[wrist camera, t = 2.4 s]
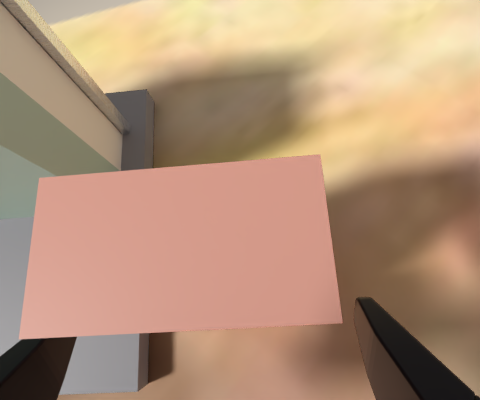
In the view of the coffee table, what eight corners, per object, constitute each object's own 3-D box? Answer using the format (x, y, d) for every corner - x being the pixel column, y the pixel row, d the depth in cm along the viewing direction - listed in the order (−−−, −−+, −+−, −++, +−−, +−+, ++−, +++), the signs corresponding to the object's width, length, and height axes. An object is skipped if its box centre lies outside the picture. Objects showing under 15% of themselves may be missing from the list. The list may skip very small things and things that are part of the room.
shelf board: (148, 383, 18) (137, 391, 17) (-54, 391, 19) (-80, 399, 17) (154, 102, 23) (146, 89, 22) (-5, 117, 24) (-23, 106, 22)
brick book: (292, 302, 19) (342, 323, 6) (181, 308, 19) (19, 339, 7) (286, 242, 20) (320, 154, 7) (181, 249, 20) (39, 177, 8)
